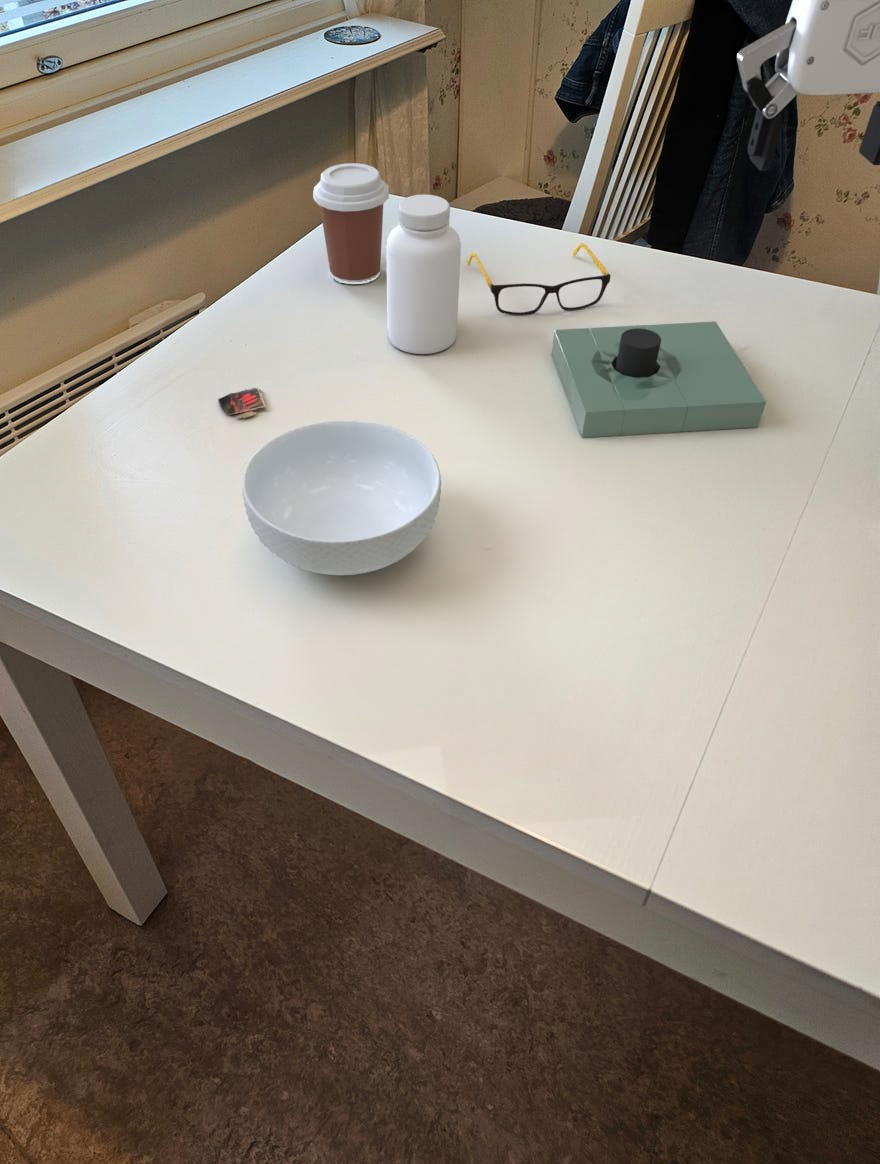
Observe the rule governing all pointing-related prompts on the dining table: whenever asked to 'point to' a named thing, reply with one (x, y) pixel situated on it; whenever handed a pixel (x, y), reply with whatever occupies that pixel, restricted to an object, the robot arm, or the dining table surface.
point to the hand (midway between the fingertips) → (814, 162)
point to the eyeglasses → (548, 289)
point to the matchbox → (242, 402)
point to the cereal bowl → (342, 496)
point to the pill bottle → (423, 276)
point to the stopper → (638, 353)
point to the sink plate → (656, 382)
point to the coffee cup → (352, 219)
